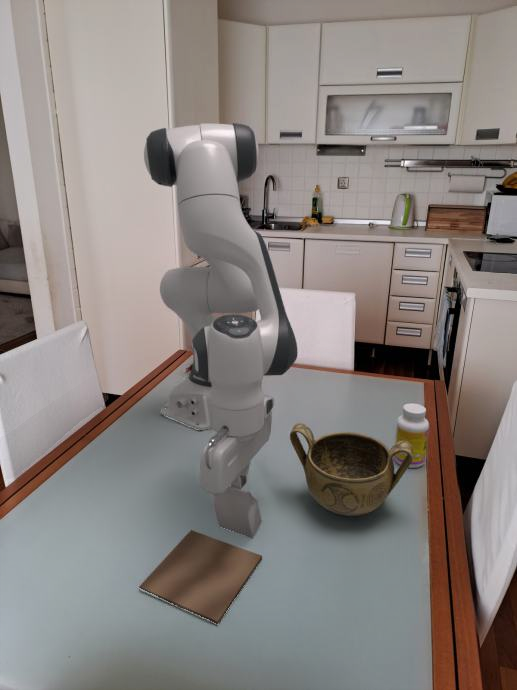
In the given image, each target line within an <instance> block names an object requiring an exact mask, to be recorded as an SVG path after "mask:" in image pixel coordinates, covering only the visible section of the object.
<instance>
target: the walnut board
mask: <svg viewBox="0 0 517 690" xmlns="http://www.w3.org/2000/svg"><path fill="white" fill-rule="evenodd" d="M262 560H263V555H261V554H259V553H256V552H253V551H251V550H248V549H244V548H242V547H239V546H237V545H234V544H231V543H228V542H225V541H222V540H221V539H217V538H214V537H212V536H209V535H206V534H203V533H202V532H199V531H195V530H192V529H190V530H189V531H188V533H187V534H186V535H185V536H184V537H182V538H181V540H180V541H179V542H178V544H176V546H175V547H174V548H172V550H171V551H170V552H169V553H168V554H167V555H166V557H165V558H164V559H163V560H162V561H160V563H159V564H158V565H157V566H156V567H155V568H154V570H153V571H152V572H150V574H149V575H148V576H147V578H146V579H144V581H142V582H141V584H140V585H139V588H141V589H143V590H145V591H147V592H149V593H152V594H154V595H156V596H158V597H159V598H162V599H164V600H166V601H168V602H170V603H173V604H174V605H177V606H178V607H180V608H183V609H186V610H188V611H190V612H193V613H194V614H197V615H200V616H201V617H204V618H206V619H209V620H210V621H212V622H214V623H216V624H218V623H219V622H220V620H221V619H222V617H223V616H224V614H225V613H226V611H227V610H228V608H229V607H230V605H231V604H232V602H233V601H234V599H235V598H236V597H237V598H238V596H239V595H240V593H241V592H242V590H243V589H244V587H245V586H246V584H247V583H246V582H249V580H248V579H250V578H251V577H250V576H253V574H254V572H255V571H256V569H257V568H258V566H259V565H260V563H261V562H262ZM256 567H257V568H256ZM254 570H255V571H254ZM252 573H253V574H252ZM244 585H245V586H244ZM243 586H244V587H243ZM242 588H243V589H242ZM241 589H242V590H241ZM240 591H241V592H240ZM239 592H240V593H239ZM238 594H239V595H238ZM237 595H238V596H237ZM237 598H236V599H237ZM236 599H235V600H236ZM234 602H235V601H234ZM234 602H233V603H234ZM232 605H233V604H232ZM232 605H231V606H232ZM180 608H179V609H180ZM230 608H231V607H230ZM230 608H229V609H230ZM228 611H229V610H228ZM228 611H227V612H228ZM226 614H227V613H226ZM226 614H225V615H226ZM224 617H225V616H224ZM224 617H223V618H224ZM222 620H223V619H222ZM222 620H221V621H222ZM220 623H221V622H220ZM220 623H219V624H220Z"/></svg>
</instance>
